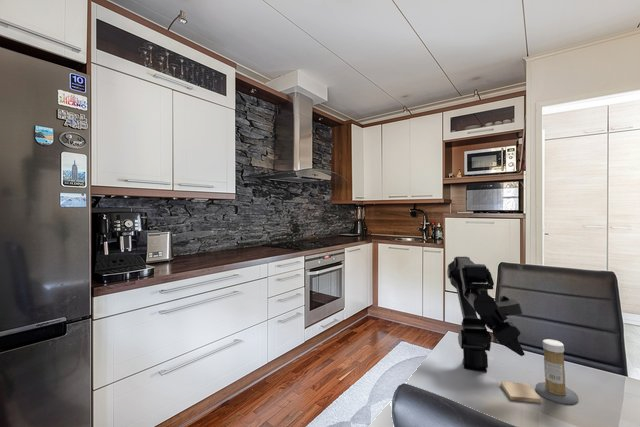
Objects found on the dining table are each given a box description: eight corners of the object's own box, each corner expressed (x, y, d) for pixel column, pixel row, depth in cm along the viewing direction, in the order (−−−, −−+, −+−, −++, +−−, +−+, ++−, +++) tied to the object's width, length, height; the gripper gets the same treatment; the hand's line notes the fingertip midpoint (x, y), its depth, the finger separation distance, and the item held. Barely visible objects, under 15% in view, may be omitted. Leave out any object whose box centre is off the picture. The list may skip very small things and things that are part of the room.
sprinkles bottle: (568, 392, 79) (566, 342, 79) (562, 398, 76) (560, 347, 76) (548, 384, 82) (546, 337, 83) (542, 390, 80) (539, 341, 80)
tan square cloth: (510, 399, 77) (510, 396, 77) (500, 384, 84) (500, 381, 84) (540, 402, 76) (540, 398, 76) (528, 387, 83) (527, 383, 83)
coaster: (541, 400, 77) (541, 397, 77) (531, 381, 85) (531, 379, 85) (584, 407, 73) (584, 405, 73) (570, 387, 82) (570, 385, 82)
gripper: (517, 297, 79) (558, 348, 76) (495, 282, 97) (528, 323, 94) (480, 318, 81) (519, 368, 78) (466, 300, 99) (497, 340, 96)
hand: (516, 348), depth 86 cm, fingers open, 9 cm apart
